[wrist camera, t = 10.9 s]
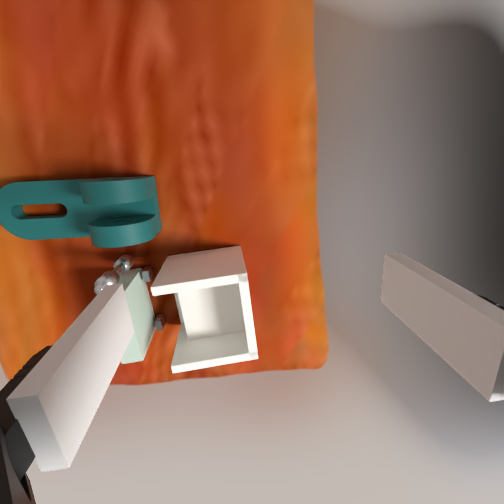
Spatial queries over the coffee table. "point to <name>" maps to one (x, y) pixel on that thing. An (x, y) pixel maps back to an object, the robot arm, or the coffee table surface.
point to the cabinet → (209, 308)
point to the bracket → (85, 210)
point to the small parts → (113, 278)
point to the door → (138, 315)
